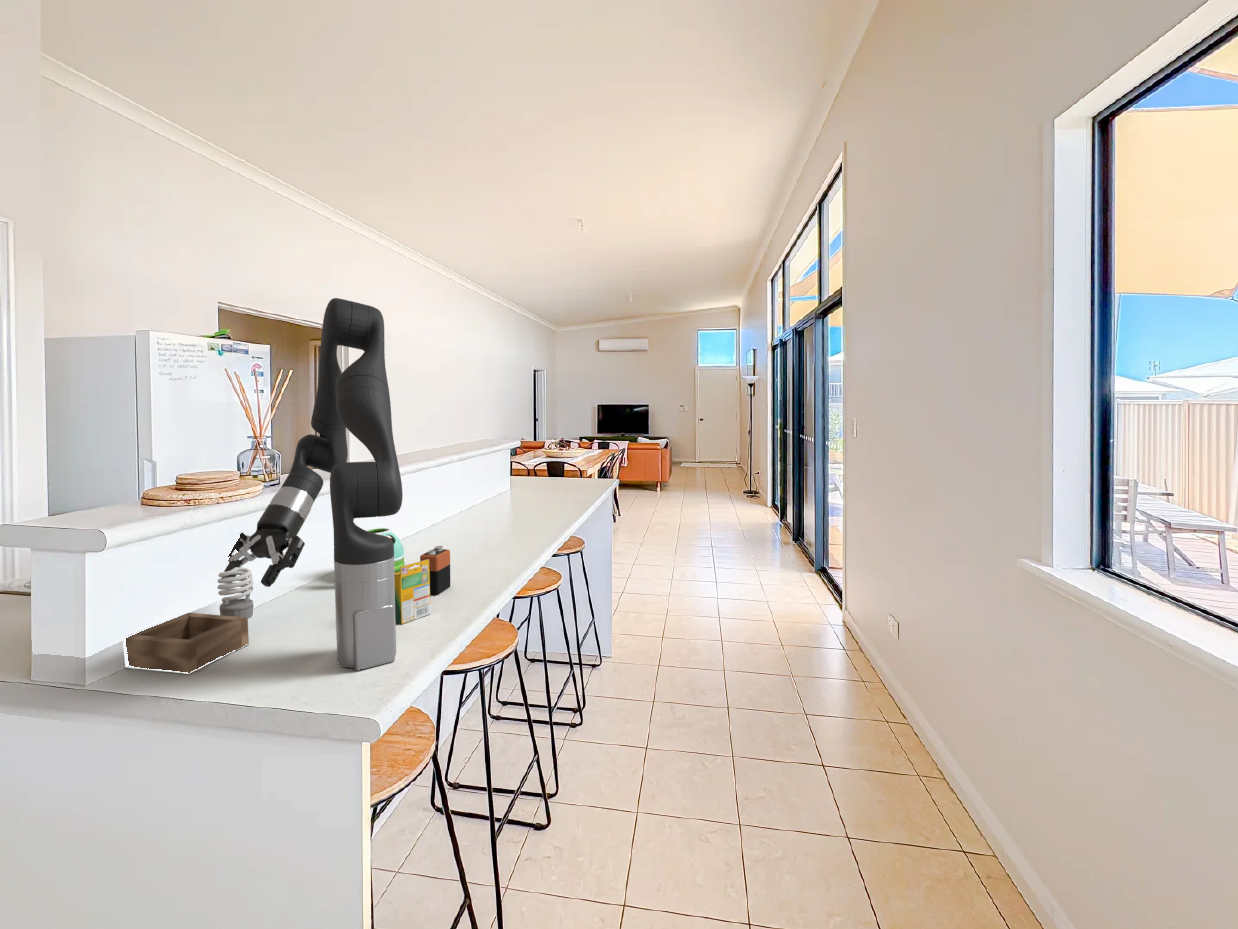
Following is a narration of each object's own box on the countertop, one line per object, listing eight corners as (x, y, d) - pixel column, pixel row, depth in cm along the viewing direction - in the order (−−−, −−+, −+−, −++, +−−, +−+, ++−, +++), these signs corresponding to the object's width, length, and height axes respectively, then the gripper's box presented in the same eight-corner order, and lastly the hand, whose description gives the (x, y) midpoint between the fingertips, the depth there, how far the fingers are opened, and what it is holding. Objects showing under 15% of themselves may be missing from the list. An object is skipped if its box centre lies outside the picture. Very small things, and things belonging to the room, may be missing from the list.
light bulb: (248, 622, 115) (246, 562, 114) (260, 629, 112) (257, 567, 111) (215, 631, 111) (212, 568, 110) (225, 638, 107) (222, 573, 106)
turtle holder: (323, 588, 138) (321, 538, 136) (375, 568, 155) (373, 523, 154) (368, 593, 134) (366, 542, 133) (416, 572, 152) (415, 526, 150)
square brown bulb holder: (248, 645, 105) (247, 617, 104) (188, 674, 93) (187, 644, 92) (190, 639, 107) (188, 612, 106) (124, 668, 95) (122, 638, 94)
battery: (451, 587, 140) (450, 545, 139) (437, 596, 133) (437, 552, 132) (434, 586, 141) (433, 544, 140) (419, 594, 134) (419, 551, 133)
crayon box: (421, 611, 123) (420, 556, 122) (431, 614, 121) (430, 558, 120) (391, 622, 117) (390, 564, 116) (401, 625, 115) (400, 566, 114)
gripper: (245, 501, 121) (200, 571, 111) (307, 504, 119) (267, 576, 109) (266, 522, 127) (224, 590, 117) (326, 525, 124) (289, 595, 114)
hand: (245, 583), depth 113 cm, fingers open, 8 cm apart
